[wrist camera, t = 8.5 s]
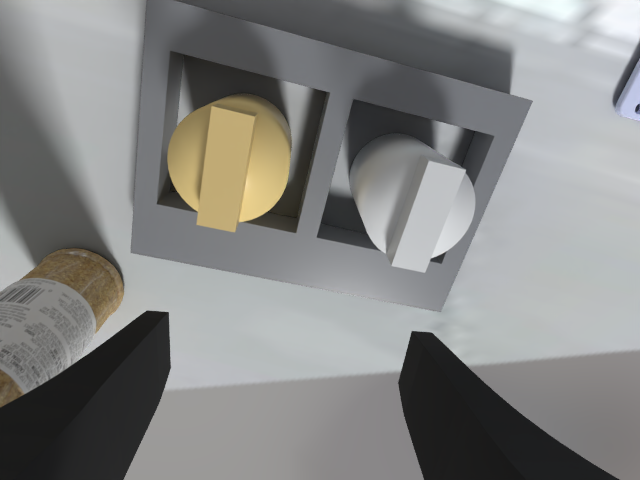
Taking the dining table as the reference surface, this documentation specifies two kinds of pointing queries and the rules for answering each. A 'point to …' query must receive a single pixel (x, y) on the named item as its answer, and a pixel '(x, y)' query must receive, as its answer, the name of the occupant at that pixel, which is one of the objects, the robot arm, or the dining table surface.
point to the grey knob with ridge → (411, 199)
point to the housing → (306, 231)
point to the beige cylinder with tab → (231, 160)
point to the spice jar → (53, 317)
